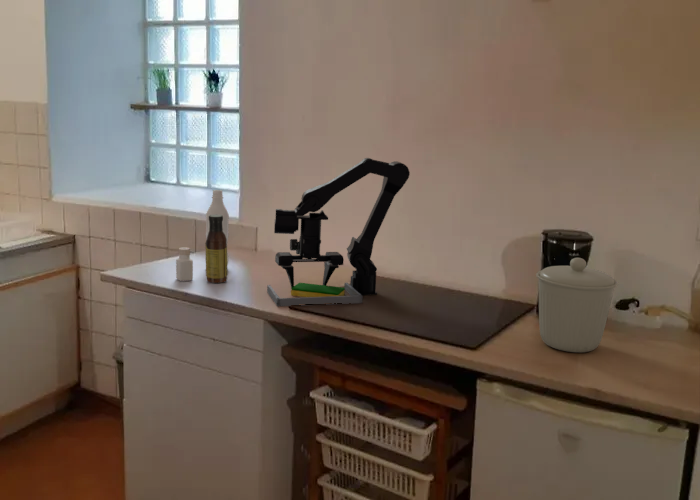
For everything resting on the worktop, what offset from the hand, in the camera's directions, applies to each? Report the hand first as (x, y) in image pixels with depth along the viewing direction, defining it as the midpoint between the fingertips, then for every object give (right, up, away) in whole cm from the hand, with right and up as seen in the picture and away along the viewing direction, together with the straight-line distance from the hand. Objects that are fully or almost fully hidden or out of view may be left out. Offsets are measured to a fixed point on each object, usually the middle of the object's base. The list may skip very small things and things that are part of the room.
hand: (308, 288), depth 205 cm
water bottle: (-30, +5, +23) cm, 38 cm away
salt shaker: (-37, +2, +7) cm, 38 cm away
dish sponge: (+3, -2, -2) cm, 4 cm away
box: (+2, -2, -5) cm, 6 cm away
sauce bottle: (-28, +1, +7) cm, 29 cm away
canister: (+63, -12, -37) cm, 74 cm away
